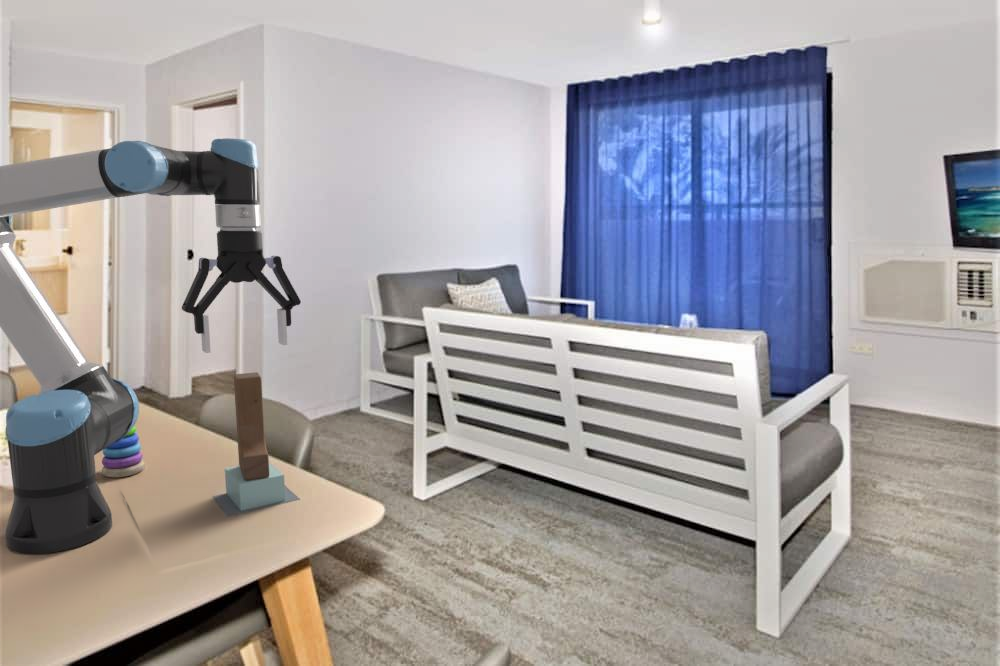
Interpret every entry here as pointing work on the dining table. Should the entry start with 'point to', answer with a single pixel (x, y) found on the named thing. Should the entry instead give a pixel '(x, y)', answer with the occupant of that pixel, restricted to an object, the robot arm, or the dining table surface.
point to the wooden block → (250, 426)
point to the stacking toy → (123, 457)
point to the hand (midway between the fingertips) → (245, 347)
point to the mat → (233, 509)
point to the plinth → (254, 488)
